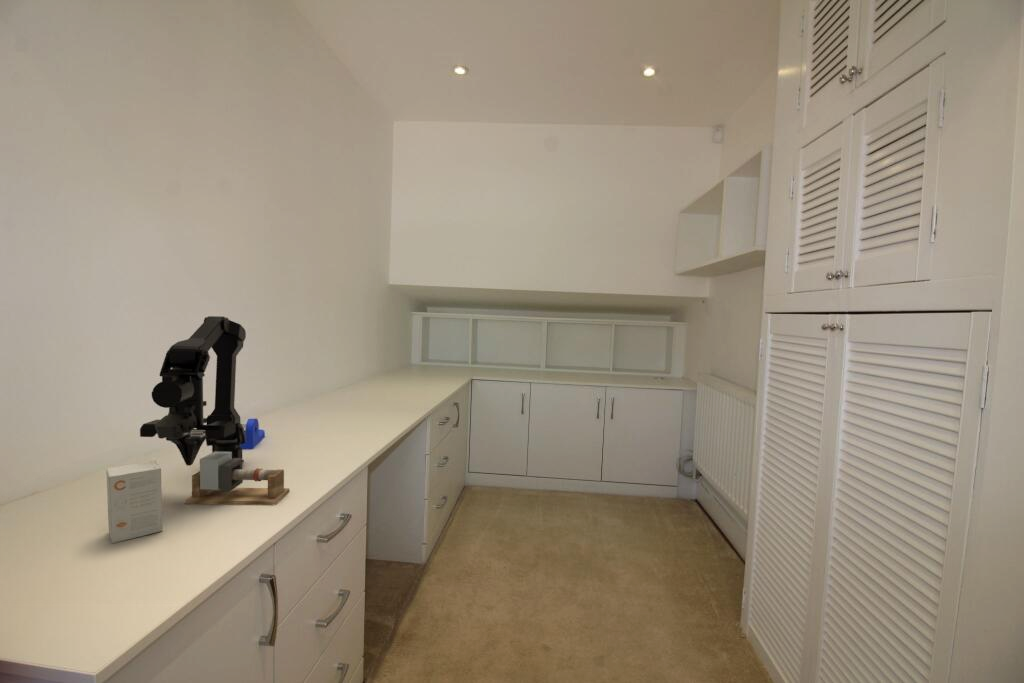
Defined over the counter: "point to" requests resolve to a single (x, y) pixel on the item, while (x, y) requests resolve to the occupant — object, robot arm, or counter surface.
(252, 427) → the bracket
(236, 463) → the collar
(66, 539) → the counter surface
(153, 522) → the small box
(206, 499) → the wooden rail stand
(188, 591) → the counter surface
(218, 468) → the sleeve
